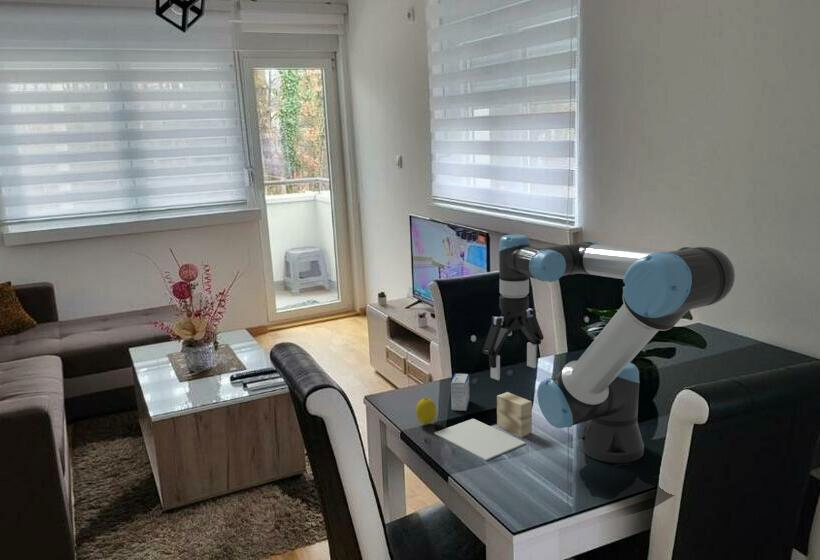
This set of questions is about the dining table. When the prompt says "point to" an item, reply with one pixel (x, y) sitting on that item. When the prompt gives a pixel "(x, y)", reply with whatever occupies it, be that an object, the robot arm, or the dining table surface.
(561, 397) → the robot arm
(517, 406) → the slab
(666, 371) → the dining table surface
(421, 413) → the lemon
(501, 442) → the placemat
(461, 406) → the medicine box
